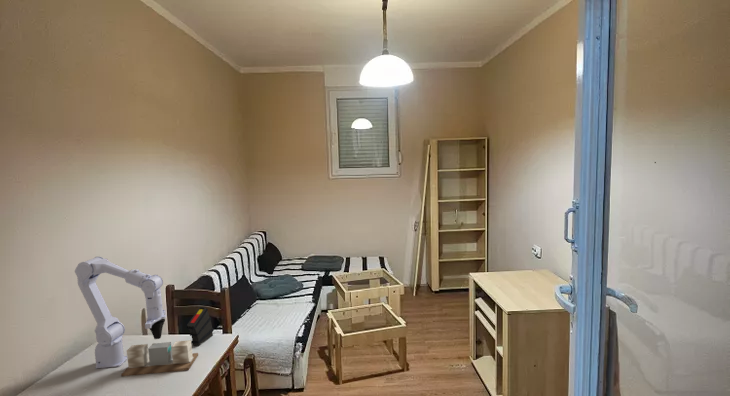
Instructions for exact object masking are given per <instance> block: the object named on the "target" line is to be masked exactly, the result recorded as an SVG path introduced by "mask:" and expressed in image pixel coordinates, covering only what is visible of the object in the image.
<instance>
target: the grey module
mask: <svg viewBox="0 0 730 396" xmlns="http://www.w3.org/2000/svg"><path fill="white" fill-rule="evenodd" d="M148 353H149V360H150V366H152V365H163V364H169V363H170V361H171V360H172V359H173V357H172V341H168V342H167V341H166V342H156V343H155V342H153V343H152V344H151V345H150V346H148Z"/></svg>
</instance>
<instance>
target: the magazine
mask: <svg viewBox="0 0 730 396" xmlns="http://www.w3.org/2000/svg"><path fill="white" fill-rule="evenodd" d="M208 311H209V309H208V308H206V307H205V306H199V307H198V308H197V310H196V312H195V313H194V314H193V316H192V317H191V319H190V320H189V321H188V323H187V324H186V329H187V330H188V331H189V336H190V337H191V344H192V347H199V346H201V345H202V344H204V343H205V342H206V341H208V340H209V339H210V338H212V337H213V336H214V335H213V334H214V333H213V332H214V331H215V330H214V327H213V326H212V321H211V320H212V317H211V316H210V314H209V312H208Z"/></svg>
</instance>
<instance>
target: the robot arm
mask: <svg viewBox="0 0 730 396" xmlns="http://www.w3.org/2000/svg"><path fill="white" fill-rule="evenodd" d="M74 273H75V275H76V277H77V286H78V288H79V290H80V291H81V293H82V297H83V298H84V299H85V300H84V301H85V302H86V304H87V305H88V307H89V310H90V311H91V314H92V315H93V318H94V320H95V321H96V327H95V329H94V333H95V337H96V338H95V339H96V342H97V344H96V345H95V349H94V359H95V369H104V368H113V367H120V366H121V365H122V364H123V363H125V361H126V360H128V358H127V355H125V354H124V353H125V352H124V343H123V338H124V337H123V335H124V334H125V331H126V328H125V325H124V324H123V323H122V322H121V321H120V320H119V318H118V317H115V316H112V312H111V311H110V309H109V307H108V306H107V302H106V301H105V299H104V297H103V295H102V293H101V291H100V289H99V286H98V285H97V283H96V282H97V280H98V278H99V276H100V275H101V274H108V275H112V276H115V277H118V278H122V279H124V280H125V282H126V284H129V285H132V286H134V287H136V288H139V289H141V291H142V292H143V293H144V297H145V298H144V299H145V307H146V316H147V318H146V322H145V324H144V328H145V329H146V330H147V329H149V331H150V332H151V335H152V337H153V339H154V340H159V339H161V338H162V333H163V328H164V324H165V322H166V318H167V314H166V309H164V308H163V298H162V290H161V289H162V286H163V284H164V281H163V278H162V277H161V276H159V275H158V274H153V275H151V274H150V273H144V272H142V271H140V269H138V268H136V269H135V268H134V269H131V270H129V269H126V268H124V267H122V266H120V265H117V264H115V263H114V262H111V261H110V260H108V258H104V257H103V256H100V255H99V256H95V257H93V258H91V259H87V260H85V261H81V262H79V263H78V264H77V266H76V267H75V270H74ZM145 329H144V330H145Z"/></svg>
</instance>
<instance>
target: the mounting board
mask: <svg viewBox="0 0 730 396" xmlns="http://www.w3.org/2000/svg"><path fill="white" fill-rule="evenodd" d="M191 341H192V339H189V340H179V341H175V342H174V343H173V345H171V347H172V357H173V359H172V360H171V361H170V363H169V364H163V365H152V366H150V360H149V351H148V349H149V345H148V343H144V344H134V345H133V344H131V346H130V347H129V348H127V349H126V356H127V365H128V366H127V367H126V368H125V369H124V370H123V371H122V373H120V374H121V377H126V376H127V377H128V376H129V377H130V376H139V375H149V374H151V375H152V374H160V373H161V374H162V373H163V374H164V373H171V372H182V371H189V370H190V369H191V367H192V365H193V364H194V362H195V361H196V359H197V358H198V357H199V353H198V352H194V353H193V349H192V348H193V344H192V343H191Z"/></svg>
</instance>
